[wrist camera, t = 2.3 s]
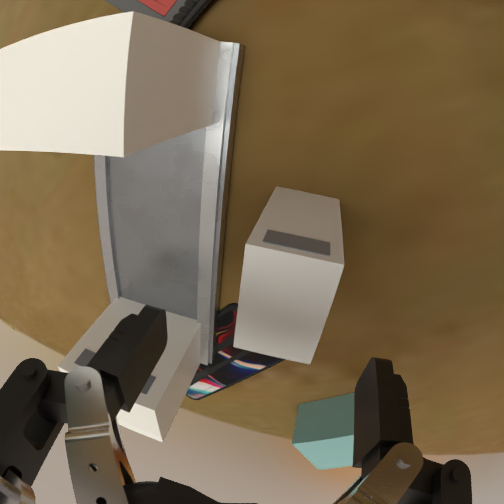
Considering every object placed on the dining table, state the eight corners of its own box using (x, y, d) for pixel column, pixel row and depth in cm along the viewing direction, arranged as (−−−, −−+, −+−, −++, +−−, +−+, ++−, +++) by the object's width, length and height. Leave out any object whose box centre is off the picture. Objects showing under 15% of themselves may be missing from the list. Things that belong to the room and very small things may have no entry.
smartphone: (295, 355, 26) (195, 402, 33) (296, 349, 26) (196, 397, 33) (233, 300, 24) (145, 364, 31) (236, 295, 25) (147, 359, 32)
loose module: (340, 198, 19) (345, 264, 12) (319, 279, 22) (310, 364, 15) (275, 185, 19) (244, 242, 13) (262, 267, 23) (232, 347, 16)
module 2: (202, 320, 25) (154, 410, 17) (201, 361, 27) (163, 442, 20) (117, 295, 26) (57, 365, 18) (125, 336, 28) (76, 403, 21)
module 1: (222, 41, 15) (133, 10, 7) (213, 125, 17) (123, 158, 10) (108, 47, 16) (-2, 48, 8) (104, 118, 18) (-2, 151, 11)
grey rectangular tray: (244, 46, 16) (238, 42, 14) (215, 354, 28) (210, 366, 27) (107, 50, 17) (94, 49, 16) (122, 324, 30) (115, 334, 28)
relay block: (355, 391, 27) (372, 423, 29) (299, 403, 30) (323, 433, 32) (353, 434, 23) (372, 462, 25) (291, 443, 25) (318, 469, 27)
